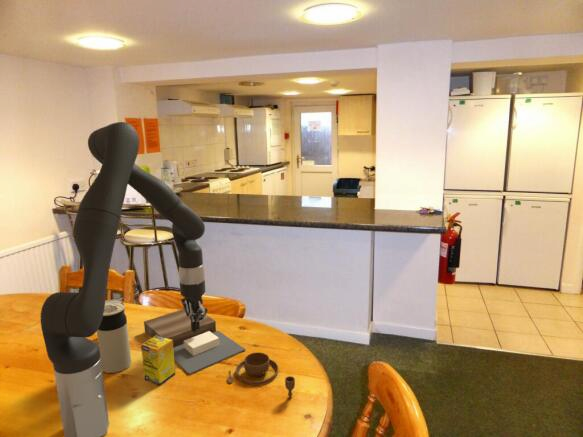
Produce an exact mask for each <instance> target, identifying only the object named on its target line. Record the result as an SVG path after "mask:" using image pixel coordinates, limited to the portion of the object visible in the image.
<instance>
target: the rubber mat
mask: <svg viewBox="0 0 583 437" xmlns="http://www.w3.org/2000/svg"><path fill="white" fill-rule="evenodd" d="M213 334H214V335H216V336H217V337H218V338H219V344H220V345H219V346H216V347H214V348H212V349H209V350H207V351H204V352H202V353H199V354H197V355H195V356H193V355H192V354H191V353H190V352H188V351H187V350H186V349H185V348H184V344H181V345H179V346H176V347H174V348H173V351H174V363H175V364H177V365H178V366H179V367H180V368H181V369H182V370H183V371H184V372H185V373H186V374H187V375H189V376H190V375H193V374H196V373H198V372H200V371H202V370H205V369H207V368H209V367H211V366H214V365H216V364H218V363H220V362H223V361H225V360H228V359H229V358H232V357H234V356H236V354H237V355H238V353H239V354H241V353H244V352H246V348H244V346H242V345H240V344H239V343H238V342H236V341H234V340H233V339H231V338H230V337H229V336H227V335H226V334H224V333H222V332H221V331H220V330H216V332H213ZM243 351H244V352H243ZM227 358H228V359H227Z"/></svg>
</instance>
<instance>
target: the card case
mask: <svg viewBox="0 0 583 437" xmlns="http://www.w3.org/2000/svg"><path fill="white" fill-rule="evenodd" d="M219 345H220V344H219V338H218V337H217V336H216V335H214V334H213V333H211V332H210V331H208V332H206V333H203V334H200V335H198V336H195V337H192V338H190V339H187V340H184V348H185V349H186V350H187V351H188V352H190V353H191V354H192V355H193V356H195V355H197V354H199V353H202V352H204V351H207V350H209V349H212V348H214V347H216V346H219Z"/></svg>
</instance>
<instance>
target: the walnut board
mask: <svg viewBox="0 0 583 437" xmlns="http://www.w3.org/2000/svg"><path fill="white" fill-rule="evenodd" d="M199 323H200V330H199V331H198V332H195V333H194V332H193V331H192V330H191V320H190V319H189V316H187V315H186V312H185V310H184V308H181V309H178V310H176V311H172V312H169V313H167V314H163V315H160V316H158V317H154V318H150V319H148V320H144V321H143V326H144V333H145V334H146V335H147V336H148V337H149V339H151V338H153V337H154V336H156V335H158V336H161V337H164V338H167V339H171V340H173V348H174V347H176V346H179V345H181V344H184V340H187V339H190V338H192V337H195V336H198V335H200V334H203V333H206V332H208V331H210V332H211V333H213V332H216V331H217V326H216V324H217V323H216V320H215V319H213V318H212V317H210V316H209V315H207V314H206V315H205V317H204V319H203V320H200V321H199Z"/></svg>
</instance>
